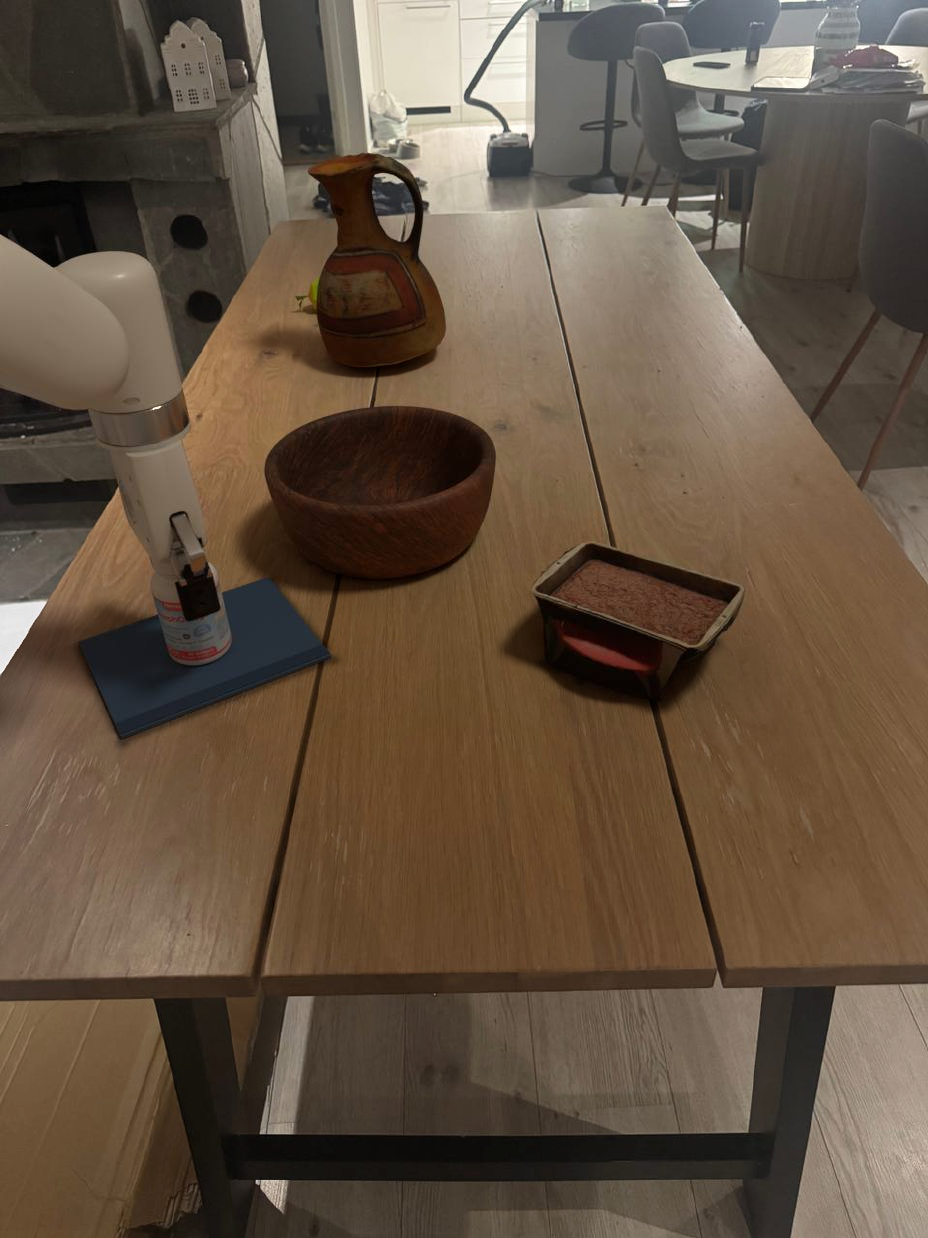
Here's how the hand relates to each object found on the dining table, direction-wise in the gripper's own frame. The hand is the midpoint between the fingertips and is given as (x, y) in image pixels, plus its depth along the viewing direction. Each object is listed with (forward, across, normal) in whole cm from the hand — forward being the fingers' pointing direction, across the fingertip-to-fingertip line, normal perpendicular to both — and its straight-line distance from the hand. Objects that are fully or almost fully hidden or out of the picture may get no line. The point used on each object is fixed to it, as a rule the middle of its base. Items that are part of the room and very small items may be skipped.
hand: (186, 588), depth 85 cm
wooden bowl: (+7, -9, +25) cm, 28 cm away
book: (+7, 0, 0) cm, 7 cm away
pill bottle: (+7, 0, 0) cm, 7 cm away
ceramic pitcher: (+7, -58, +50) cm, 77 cm away
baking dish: (+7, +23, +34) cm, 42 cm away
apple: (+7, -85, +51) cm, 99 cm away
